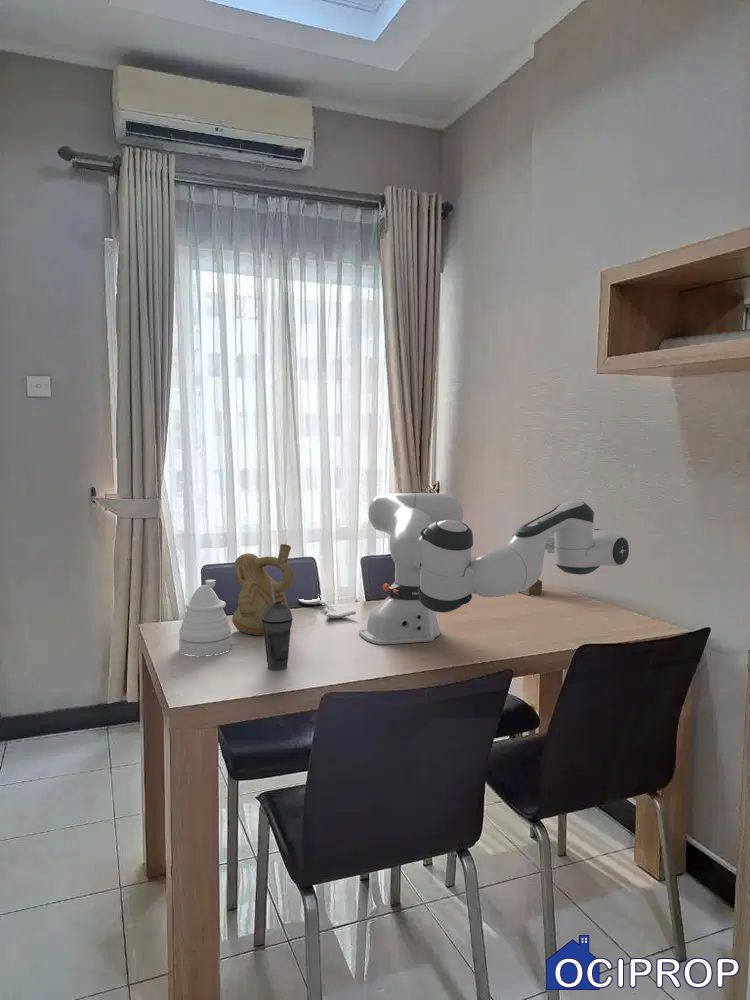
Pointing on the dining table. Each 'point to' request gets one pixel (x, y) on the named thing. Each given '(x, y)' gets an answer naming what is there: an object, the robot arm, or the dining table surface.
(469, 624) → the dining table surface
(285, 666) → the beverage cup
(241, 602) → the ceramic vessel
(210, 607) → the honey pot
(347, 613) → the white slender handled part
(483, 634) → the dining table surface
